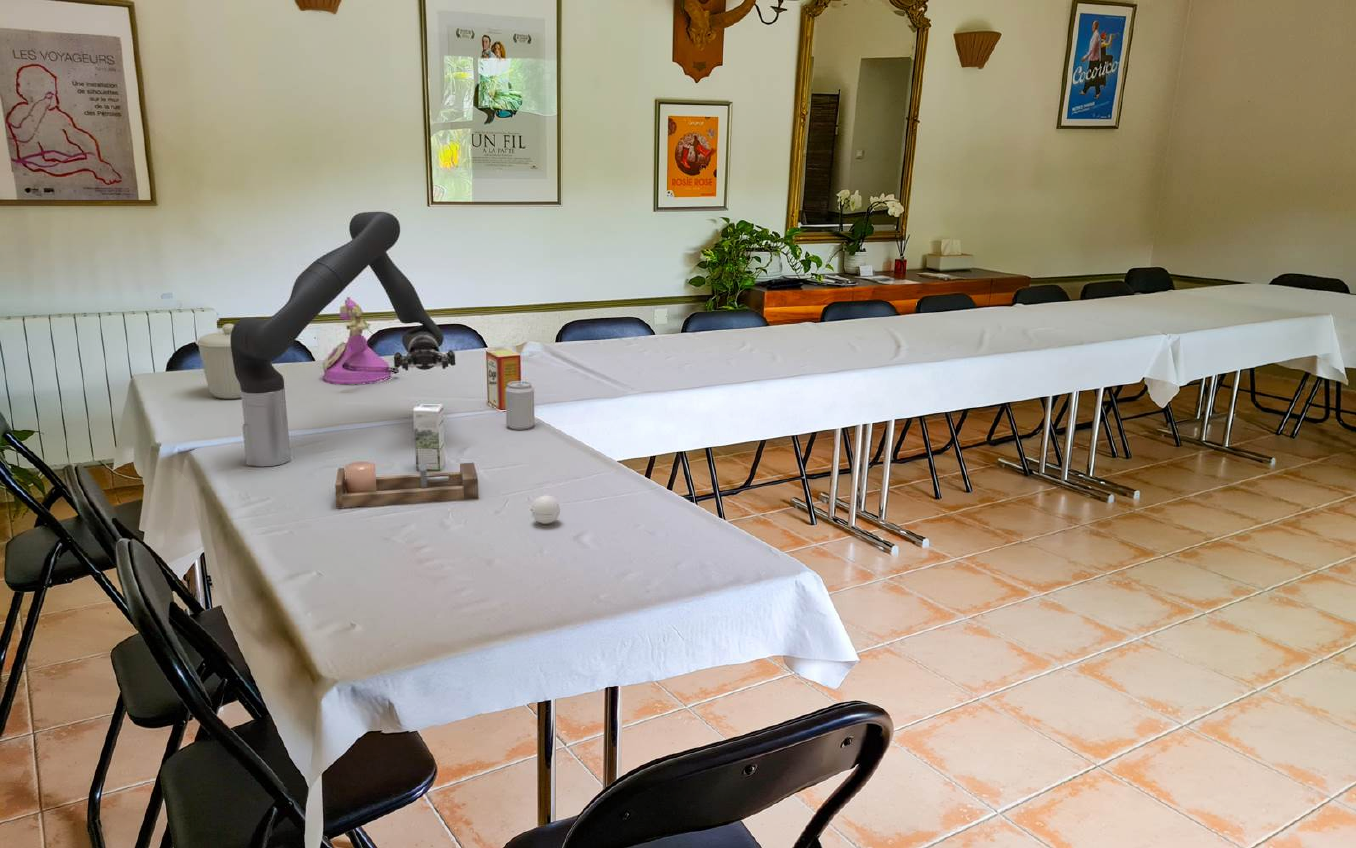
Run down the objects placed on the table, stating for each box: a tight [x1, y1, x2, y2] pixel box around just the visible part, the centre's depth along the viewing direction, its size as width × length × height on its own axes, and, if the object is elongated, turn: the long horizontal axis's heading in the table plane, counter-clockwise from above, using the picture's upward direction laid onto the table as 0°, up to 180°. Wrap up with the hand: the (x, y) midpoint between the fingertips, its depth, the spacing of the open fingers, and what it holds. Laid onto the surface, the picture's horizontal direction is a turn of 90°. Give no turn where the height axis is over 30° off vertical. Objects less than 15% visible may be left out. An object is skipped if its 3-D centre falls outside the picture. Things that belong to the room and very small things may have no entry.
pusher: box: [419, 460, 449, 489], centre depth 206 cm, size 6×7×6 cm
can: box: [505, 380, 536, 431], centre depth 256 cm, size 8×8×12 cm
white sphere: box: [530, 494, 561, 525], centre depth 190 cm, size 8×6×6 cm
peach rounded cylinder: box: [344, 461, 378, 494], centre depth 202 cm, size 6×6×7 cm
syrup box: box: [412, 403, 446, 471], centre depth 222 cm, size 6×6×14 cm
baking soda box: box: [485, 348, 522, 410], centre depth 276 cm, size 10×6×16 cm
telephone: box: [322, 296, 400, 385], centre depth 301 cm, size 36×22×25 cm, turn 25°
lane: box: [334, 462, 479, 509], centre depth 205 cm, size 28×11×5 cm, turn 106°
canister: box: [194, 323, 242, 400], centre depth 281 cm, size 18×18×21 cm
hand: (425, 365), depth 228 cm, fingers open, 8 cm apart
